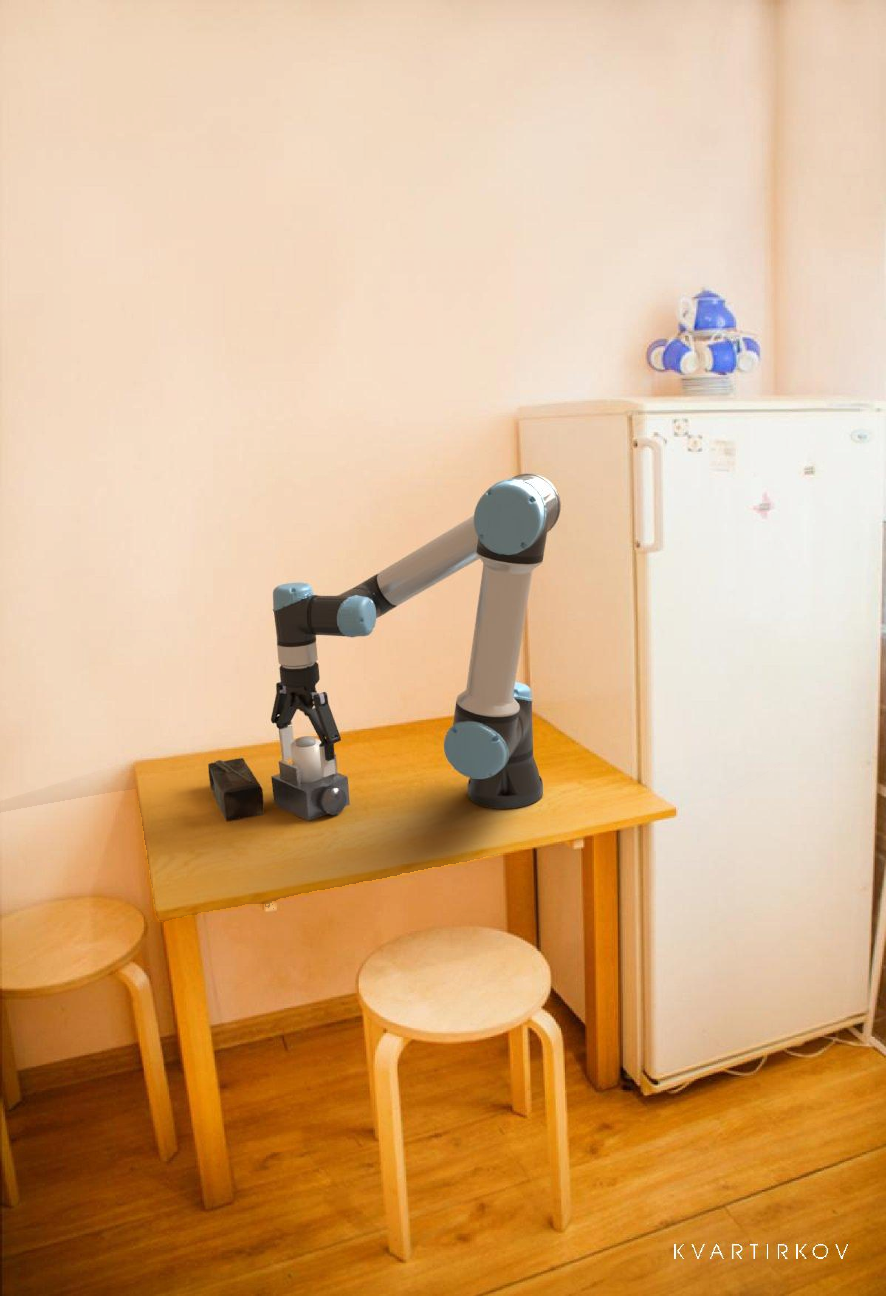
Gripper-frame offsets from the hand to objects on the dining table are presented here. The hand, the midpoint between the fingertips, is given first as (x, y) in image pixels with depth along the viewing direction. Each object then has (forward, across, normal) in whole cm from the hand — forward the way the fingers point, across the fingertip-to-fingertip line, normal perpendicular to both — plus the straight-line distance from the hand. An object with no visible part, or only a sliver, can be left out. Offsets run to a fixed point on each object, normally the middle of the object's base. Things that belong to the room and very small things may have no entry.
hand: (308, 766), depth 196 cm
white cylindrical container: (+2, 0, 0) cm, 2 cm away
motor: (+8, -1, 0) cm, 8 cm away
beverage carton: (+9, +14, +9) cm, 18 cm away
